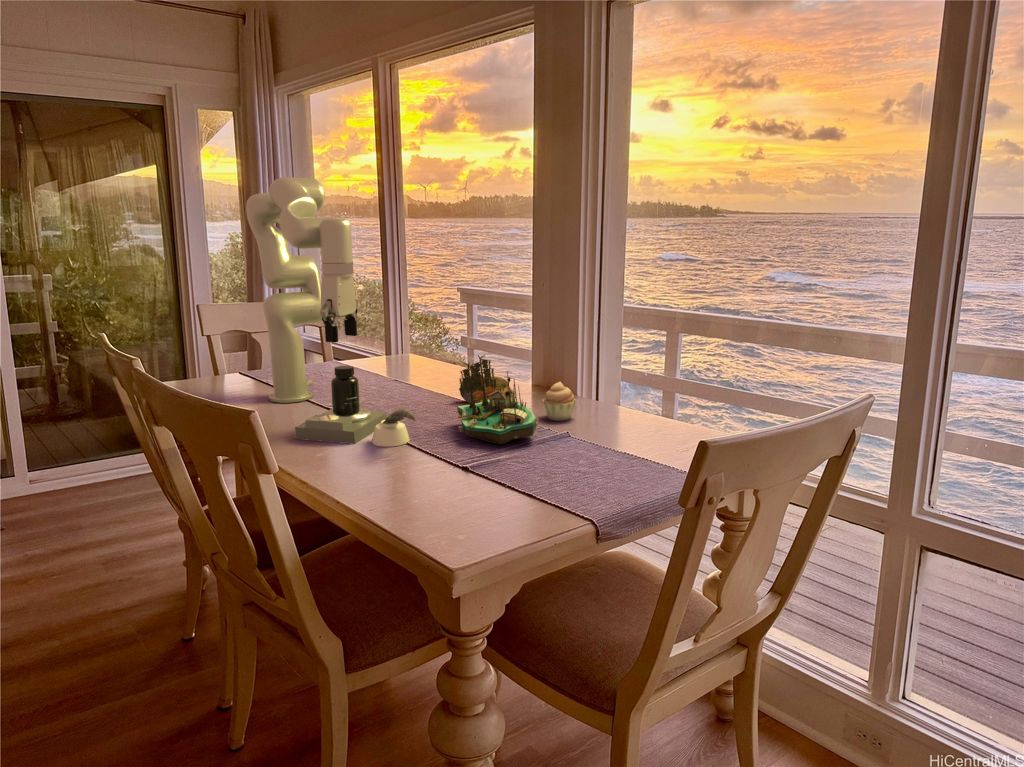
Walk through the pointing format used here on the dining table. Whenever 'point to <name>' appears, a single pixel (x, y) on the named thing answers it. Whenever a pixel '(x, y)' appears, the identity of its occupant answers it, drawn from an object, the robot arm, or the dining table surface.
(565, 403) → the cupcake
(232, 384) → the dining table surface
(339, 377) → the supplement bottle
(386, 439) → the inkwell
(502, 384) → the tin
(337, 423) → the scale
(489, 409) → the diorama
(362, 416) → the scale pan
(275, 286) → the robot arm
